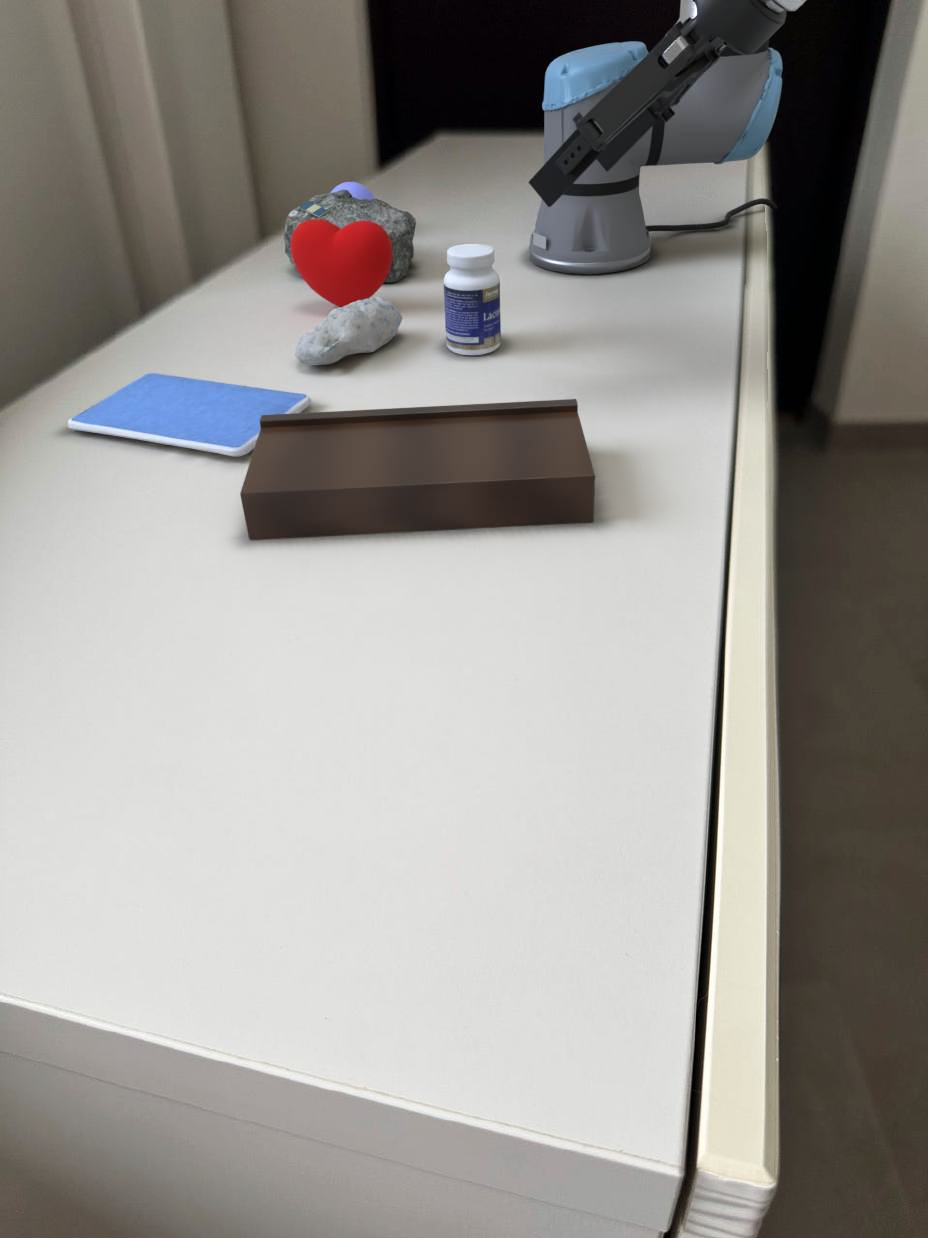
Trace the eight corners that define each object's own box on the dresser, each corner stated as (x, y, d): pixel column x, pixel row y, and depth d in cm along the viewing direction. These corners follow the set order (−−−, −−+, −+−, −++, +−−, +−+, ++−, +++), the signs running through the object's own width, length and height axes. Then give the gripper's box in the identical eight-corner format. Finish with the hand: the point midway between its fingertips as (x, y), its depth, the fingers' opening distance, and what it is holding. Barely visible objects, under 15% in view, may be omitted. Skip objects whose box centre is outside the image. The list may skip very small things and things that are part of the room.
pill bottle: (496, 358, 103) (493, 258, 98) (441, 356, 104) (435, 257, 99) (505, 337, 108) (503, 241, 102) (453, 335, 109) (448, 240, 103)
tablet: (65, 433, 93) (61, 419, 93) (150, 380, 103) (147, 368, 102) (241, 465, 87) (239, 451, 86) (316, 405, 96) (314, 392, 95)
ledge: (575, 449, 86) (576, 398, 84) (593, 522, 76) (595, 467, 74) (269, 464, 86) (261, 414, 84) (249, 540, 77) (238, 486, 74)
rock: (443, 243, 131) (426, 170, 124) (404, 311, 124) (383, 238, 116) (324, 240, 138) (300, 171, 130) (279, 305, 130) (251, 235, 122)
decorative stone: (363, 326, 112) (358, 280, 109) (413, 336, 109) (410, 289, 106) (286, 369, 103) (278, 320, 100) (338, 381, 100) (332, 330, 97)
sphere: (383, 227, 144) (378, 175, 140) (374, 242, 139) (369, 188, 135) (334, 228, 145) (328, 176, 141) (324, 243, 139) (318, 189, 135)
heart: (291, 316, 116) (278, 225, 110) (309, 300, 120) (297, 212, 114) (388, 321, 113) (380, 228, 108) (403, 304, 118) (396, 214, 112)
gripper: (745, 39, 69) (541, 246, 83) (823, 0, 86) (644, 177, 101) (675, -53, 68) (481, 173, 82) (769, -74, 85) (595, 116, 100)
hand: (570, 175), depth 92 cm, fingers open, 13 cm apart
